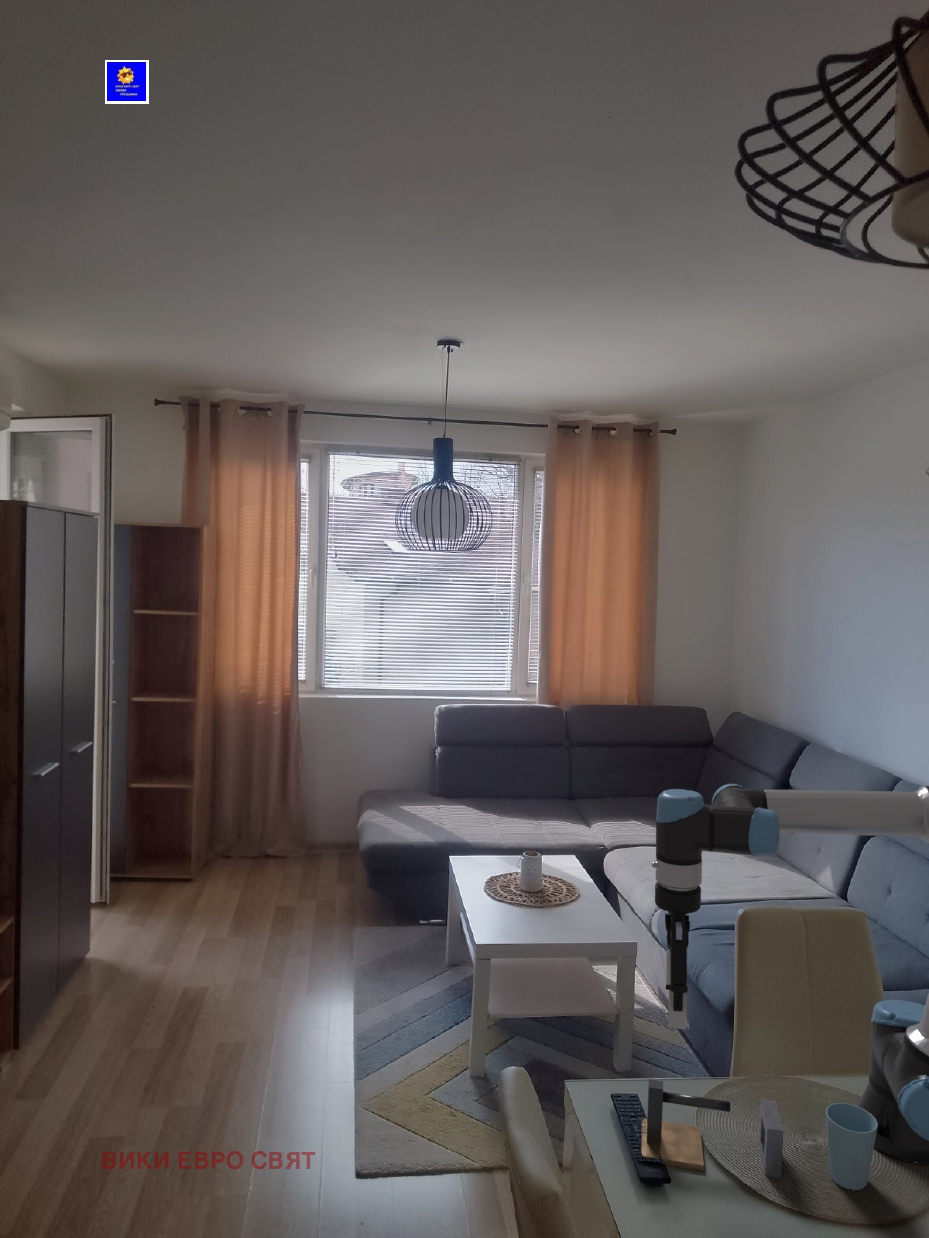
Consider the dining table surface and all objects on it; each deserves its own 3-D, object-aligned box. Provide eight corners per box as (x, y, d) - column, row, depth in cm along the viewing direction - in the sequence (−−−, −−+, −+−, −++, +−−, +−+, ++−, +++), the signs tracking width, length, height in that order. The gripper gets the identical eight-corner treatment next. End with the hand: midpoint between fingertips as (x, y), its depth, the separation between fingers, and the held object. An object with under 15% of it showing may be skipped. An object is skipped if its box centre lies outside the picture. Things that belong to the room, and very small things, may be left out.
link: (773, 1146, 147) (776, 1101, 147) (781, 1178, 139) (783, 1130, 139) (758, 1143, 148) (760, 1098, 147) (764, 1175, 140) (767, 1128, 139)
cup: (885, 1188, 138) (888, 1125, 137) (850, 1201, 134) (853, 1137, 134) (847, 1158, 144) (849, 1098, 144) (812, 1170, 141) (815, 1109, 141)
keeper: (724, 1136, 149) (727, 1077, 149) (730, 1175, 139) (733, 1113, 139) (641, 1123, 152) (643, 1066, 151) (641, 1160, 142) (643, 1099, 142)
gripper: (654, 857, 157) (652, 970, 158) (656, 909, 132) (653, 1043, 133) (696, 860, 155) (694, 975, 156) (706, 914, 131) (703, 1049, 132)
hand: (675, 1006), depth 145 cm, fingers open, 13 cm apart
